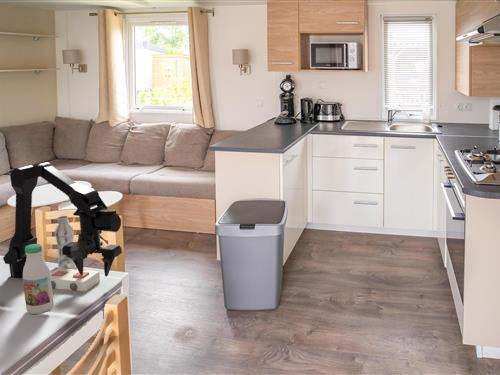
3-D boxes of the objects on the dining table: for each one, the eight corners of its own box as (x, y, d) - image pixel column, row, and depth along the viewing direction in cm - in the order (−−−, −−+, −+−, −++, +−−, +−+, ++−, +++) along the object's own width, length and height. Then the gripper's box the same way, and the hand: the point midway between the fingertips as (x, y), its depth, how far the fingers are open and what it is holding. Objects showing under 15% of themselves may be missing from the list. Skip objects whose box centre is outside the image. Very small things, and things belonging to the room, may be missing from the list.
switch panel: (40, 289, 179) (38, 277, 179) (57, 278, 188) (56, 267, 187) (84, 293, 175) (83, 281, 174) (100, 282, 184) (99, 270, 183)
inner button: (52, 279, 181) (51, 274, 181) (59, 275, 184) (58, 270, 184) (61, 280, 180) (61, 275, 180) (68, 276, 183) (67, 271, 183)
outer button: (73, 280, 179) (72, 275, 178) (79, 276, 182) (79, 271, 182) (83, 281, 178) (82, 276, 177) (89, 277, 181) (88, 272, 181)
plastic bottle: (80, 268, 198) (75, 214, 193) (73, 275, 191) (67, 219, 187) (63, 267, 198) (58, 214, 194) (55, 274, 192) (49, 219, 188)
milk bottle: (33, 303, 168) (25, 241, 164) (57, 303, 168) (51, 241, 164) (22, 315, 161) (14, 250, 157) (48, 314, 161) (40, 250, 156)
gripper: (49, 234, 170) (54, 282, 173) (102, 238, 165) (106, 287, 168) (69, 224, 180) (74, 269, 184) (120, 228, 175) (124, 273, 179)
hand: (94, 275), depth 178 cm, fingers open, 9 cm apart
